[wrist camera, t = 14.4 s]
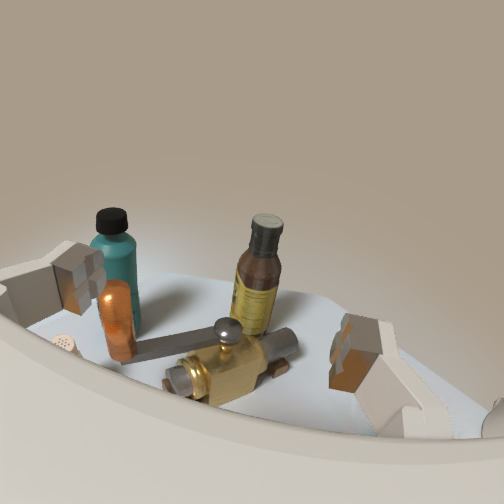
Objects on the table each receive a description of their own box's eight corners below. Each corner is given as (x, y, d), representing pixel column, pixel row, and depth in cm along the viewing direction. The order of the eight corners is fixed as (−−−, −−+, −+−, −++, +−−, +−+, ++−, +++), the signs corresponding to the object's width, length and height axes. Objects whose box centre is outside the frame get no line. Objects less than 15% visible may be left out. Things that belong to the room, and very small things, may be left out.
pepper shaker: (99, 396, 35) (83, 350, 30) (73, 407, 32) (51, 362, 27) (87, 375, 37) (71, 327, 32) (62, 385, 34) (42, 337, 30)
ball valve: (271, 345, 49) (284, 299, 44) (294, 371, 45) (312, 326, 40) (161, 385, 39) (157, 338, 34) (180, 420, 35) (179, 377, 30)
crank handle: (233, 324, 38) (244, 259, 33) (245, 342, 35) (259, 277, 31) (108, 349, 31) (95, 280, 26) (113, 372, 28) (98, 303, 24)
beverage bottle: (126, 310, 50) (118, 197, 40) (151, 332, 47) (147, 213, 37) (94, 328, 45) (76, 210, 35) (118, 352, 42) (101, 229, 32)
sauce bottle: (238, 312, 54) (257, 204, 44) (271, 326, 53) (300, 218, 43) (220, 334, 49) (236, 218, 39) (256, 350, 47) (283, 235, 37)
